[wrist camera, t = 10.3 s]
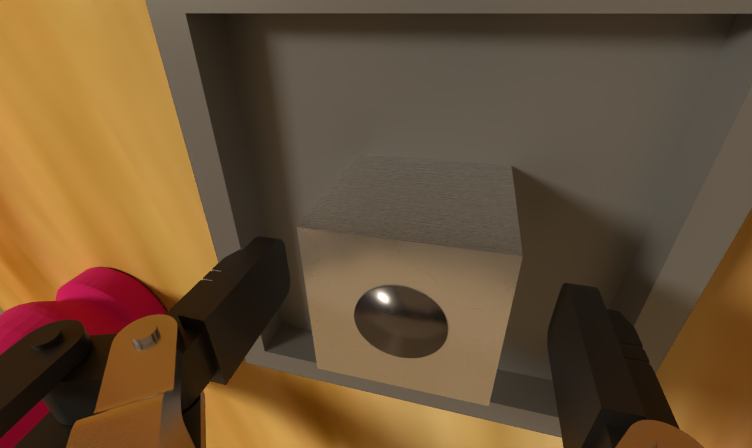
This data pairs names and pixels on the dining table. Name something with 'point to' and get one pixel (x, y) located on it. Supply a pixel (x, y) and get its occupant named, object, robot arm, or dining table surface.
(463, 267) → the grey dotted cube
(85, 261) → the dining table surface
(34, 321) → the pepper mill
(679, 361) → the dining table surface
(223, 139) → the tray
